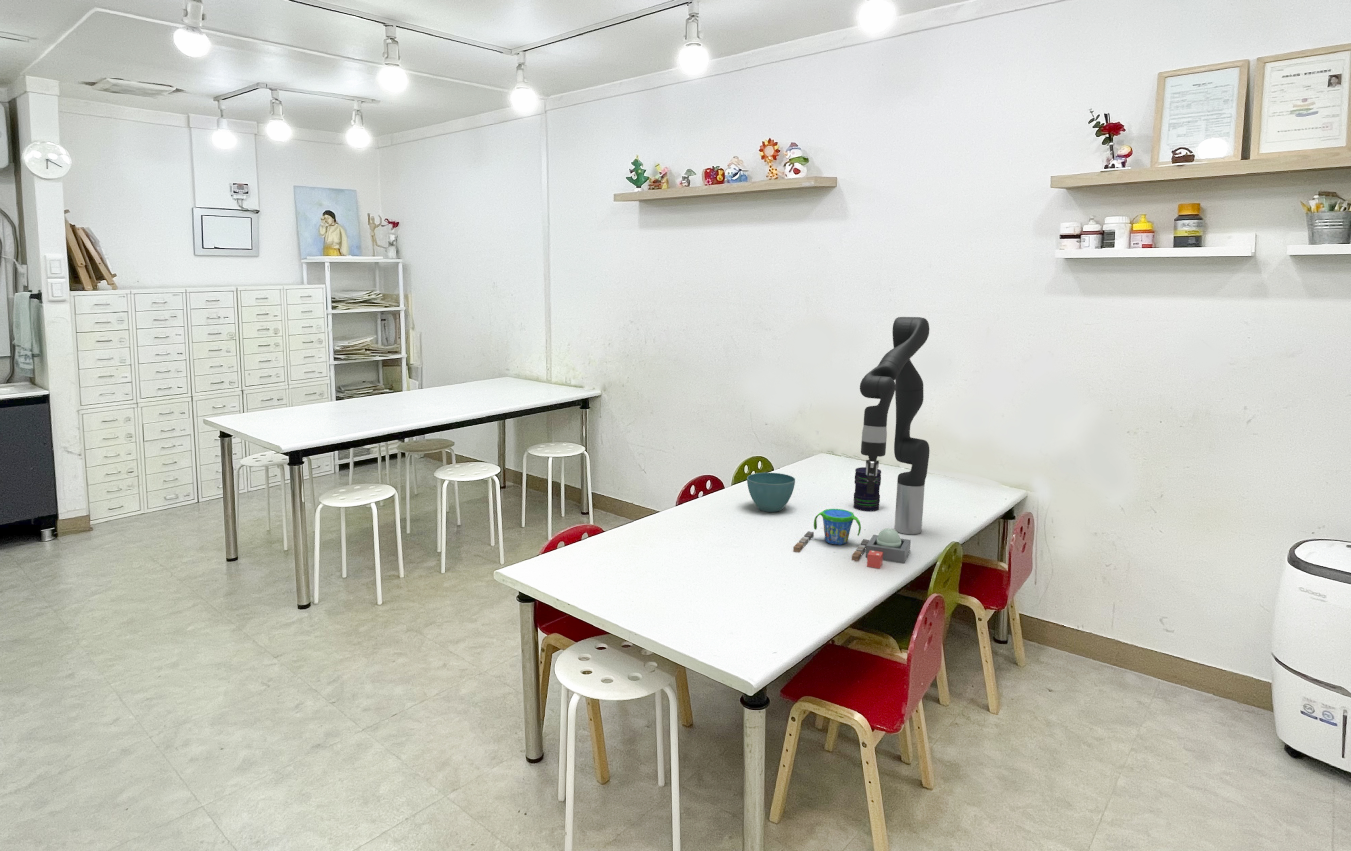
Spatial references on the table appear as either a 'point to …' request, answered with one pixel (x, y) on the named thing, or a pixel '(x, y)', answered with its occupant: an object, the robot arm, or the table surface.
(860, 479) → the storage jar
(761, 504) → the teal bowl
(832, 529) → the snack cup
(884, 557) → the frame
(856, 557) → the track markers
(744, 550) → the table surface
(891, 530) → the dome
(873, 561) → the red die
